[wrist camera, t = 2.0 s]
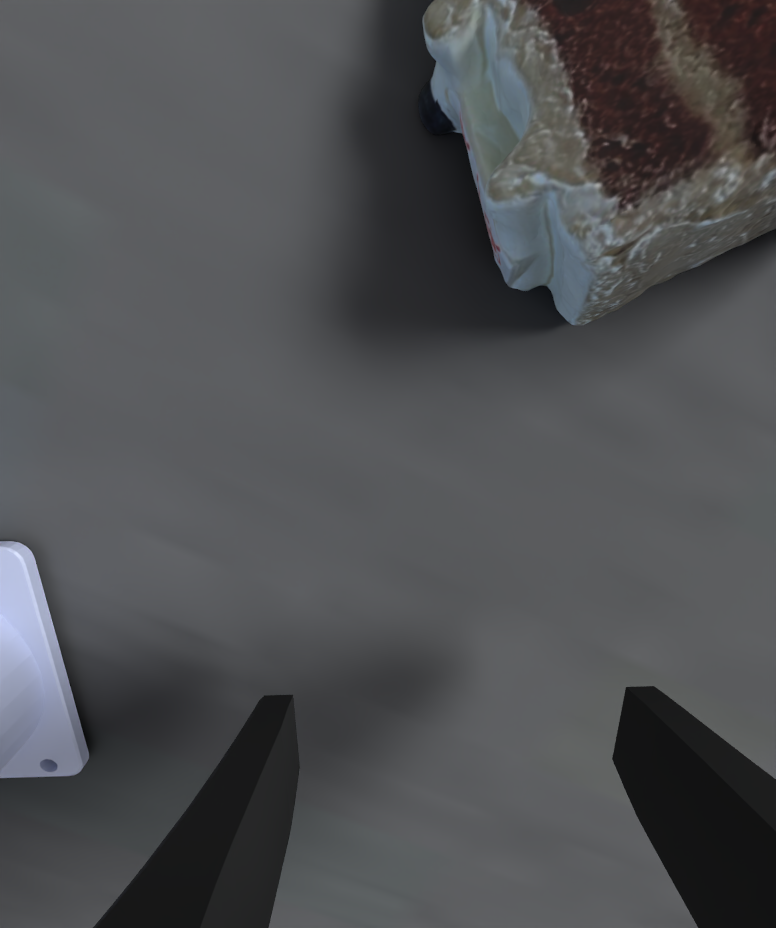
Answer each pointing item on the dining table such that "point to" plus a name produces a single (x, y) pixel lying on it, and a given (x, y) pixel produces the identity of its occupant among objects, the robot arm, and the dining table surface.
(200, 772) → the dining table surface
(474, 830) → the dining table surface
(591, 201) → the chocolate cake
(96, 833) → the dining table surface
